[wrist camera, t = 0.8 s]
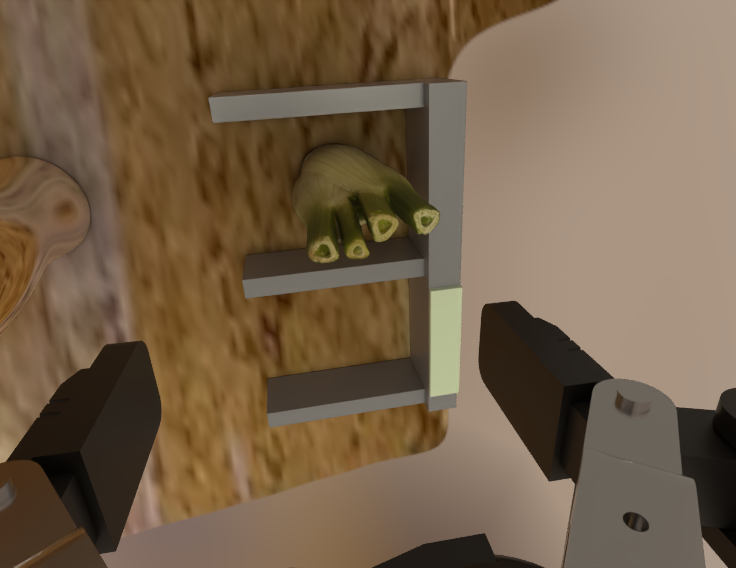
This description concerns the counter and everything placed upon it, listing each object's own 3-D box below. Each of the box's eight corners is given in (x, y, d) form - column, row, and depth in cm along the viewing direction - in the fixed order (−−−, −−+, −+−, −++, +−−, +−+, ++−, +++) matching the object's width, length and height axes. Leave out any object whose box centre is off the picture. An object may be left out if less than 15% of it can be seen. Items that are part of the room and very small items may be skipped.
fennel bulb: (390, 149, 30) (452, 199, 20) (373, 223, 32) (421, 305, 22) (299, 130, 29) (313, 173, 18) (286, 208, 31) (292, 288, 20)
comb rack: (217, 92, 27) (204, 99, 22) (437, 77, 29) (469, 81, 24) (270, 391, 36) (269, 442, 32) (435, 366, 38) (458, 410, 33)
